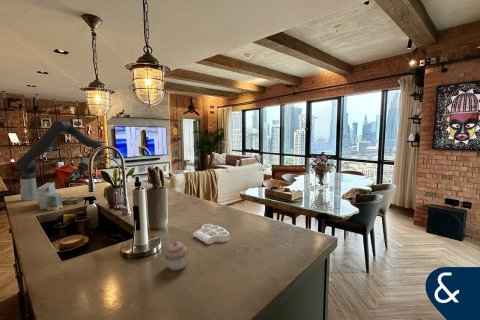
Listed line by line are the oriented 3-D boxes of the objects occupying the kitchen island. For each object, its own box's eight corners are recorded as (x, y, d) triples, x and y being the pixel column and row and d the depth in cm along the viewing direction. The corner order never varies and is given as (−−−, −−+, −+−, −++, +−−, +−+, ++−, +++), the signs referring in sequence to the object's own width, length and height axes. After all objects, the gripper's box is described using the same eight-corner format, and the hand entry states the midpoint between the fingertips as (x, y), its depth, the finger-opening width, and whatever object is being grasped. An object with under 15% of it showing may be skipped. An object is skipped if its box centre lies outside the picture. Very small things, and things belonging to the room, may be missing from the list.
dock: (56, 205, 172) (55, 200, 171) (64, 201, 182) (63, 197, 181) (77, 203, 174) (76, 199, 173) (83, 200, 184) (83, 196, 183)
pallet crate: (47, 210, 159) (46, 196, 158) (53, 207, 165) (51, 193, 164) (57, 209, 160) (55, 195, 159) (62, 207, 166) (61, 193, 165)
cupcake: (159, 266, 88) (158, 241, 87) (181, 257, 95) (180, 233, 94) (172, 277, 82) (170, 249, 81) (194, 266, 88) (193, 240, 87)
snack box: (48, 202, 180) (46, 182, 178) (57, 201, 182) (55, 182, 181) (38, 210, 161) (35, 188, 159) (48, 208, 163) (46, 187, 162)
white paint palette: (189, 236, 116) (213, 227, 125) (211, 248, 102) (235, 238, 112) (189, 229, 115) (213, 221, 125) (211, 241, 102) (235, 231, 112)
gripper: (76, 161, 181) (61, 178, 172) (87, 162, 174) (72, 180, 165) (84, 167, 186) (70, 184, 177) (95, 168, 180) (81, 185, 171)
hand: (71, 182), depth 171 cm, fingers open, 8 cm apart
